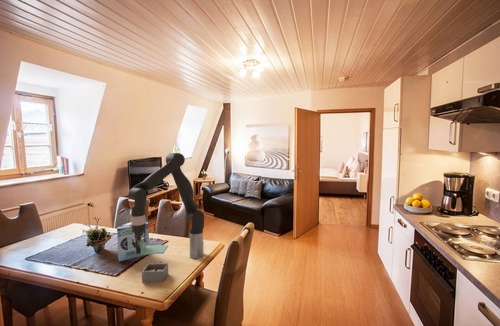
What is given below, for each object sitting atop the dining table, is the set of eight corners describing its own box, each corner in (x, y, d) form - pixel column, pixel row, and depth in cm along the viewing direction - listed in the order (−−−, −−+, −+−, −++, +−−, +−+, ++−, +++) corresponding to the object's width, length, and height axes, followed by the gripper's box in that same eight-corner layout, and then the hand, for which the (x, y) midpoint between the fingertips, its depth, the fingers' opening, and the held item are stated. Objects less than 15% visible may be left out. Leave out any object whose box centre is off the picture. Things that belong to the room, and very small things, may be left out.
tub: (168, 274, 147) (168, 263, 146) (163, 283, 138) (163, 271, 137) (148, 274, 146) (147, 263, 145) (142, 283, 137) (141, 271, 136)
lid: (168, 246, 145) (168, 239, 145) (163, 253, 136) (163, 246, 135) (139, 246, 144) (139, 239, 144) (133, 254, 135) (132, 246, 134)
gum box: (148, 251, 176) (147, 221, 174) (149, 254, 172) (148, 223, 169) (118, 258, 165) (116, 226, 163) (118, 262, 161) (117, 228, 159)
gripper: (140, 227, 131) (141, 257, 133) (149, 218, 145) (150, 245, 147) (126, 227, 131) (127, 257, 133) (137, 218, 145) (138, 246, 147)
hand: (140, 251), depth 140 cm, fingers closed on lid, 4 cm apart
